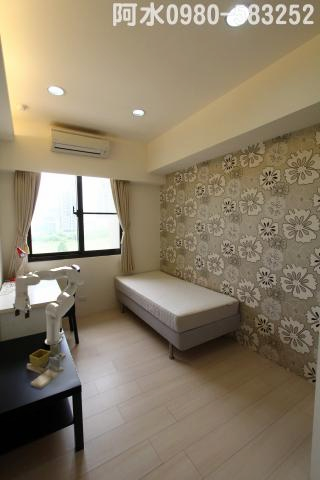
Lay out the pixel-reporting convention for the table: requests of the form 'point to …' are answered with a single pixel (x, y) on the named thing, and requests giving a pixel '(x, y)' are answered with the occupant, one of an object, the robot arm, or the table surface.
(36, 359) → the flower pot
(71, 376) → the table surface
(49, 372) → the beige l-shaped piece
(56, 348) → the wooden frame with block
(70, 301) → the robot arm
